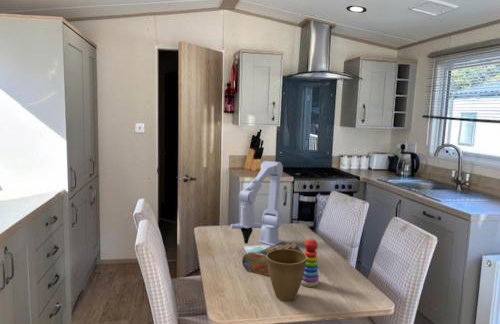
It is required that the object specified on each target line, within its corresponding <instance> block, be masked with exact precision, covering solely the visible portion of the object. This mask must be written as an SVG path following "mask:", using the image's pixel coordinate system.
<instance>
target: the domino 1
mask: <svg viewBox="0 0 500 324" xmlns="http://www.w3.org/2000/svg"><path fill="white" fill-rule="evenodd" d="M264 249H265V248H264V247H262V246H261V245H260V246H258V247H255V248H252V249H250V250H247V253H250V252H255V253H260V254H262V253H265V251H264Z"/></svg>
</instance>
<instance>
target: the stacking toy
mask: <svg viewBox="0 0 500 324" xmlns="http://www.w3.org/2000/svg"><path fill="white" fill-rule="evenodd" d="M304 247H305V250H304V252H303V253H304V254H305V255H306V256H307V260H306V265H305V270H304V275H303V278H302V282H301V285H302V286H305V287H309V288H312V287H316V286H318V285H319V282H320V280H319V278H320V277H319V276H320V275H319V266H318V264H319V263H318V256H317V255H318V252H317V249H318V242H317V240H315V239H314V238H308V239H306V241H305V242H304Z"/></svg>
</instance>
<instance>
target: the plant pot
mask: <svg viewBox="0 0 500 324" xmlns="http://www.w3.org/2000/svg"><path fill="white" fill-rule="evenodd" d="M266 256H267V264H268V270H269V275H268V276H269V278H270V279H269V280H270V282H271V286H272V289H273V292H274V295H275V297H276V299H278V300H280V301H284V302H288V301H289V302H290V301H293V300H295V298H297V294H298V293H299V290H300V287H301V285H302V284H301V282H302V278H303V275H304V270H305V265H306V260H307V256H306V255H305V254H304V252H303V251H302V252H300V251H297V250H292V249H277V250H273V251H270V252H268V253H267V255H266Z"/></svg>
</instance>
